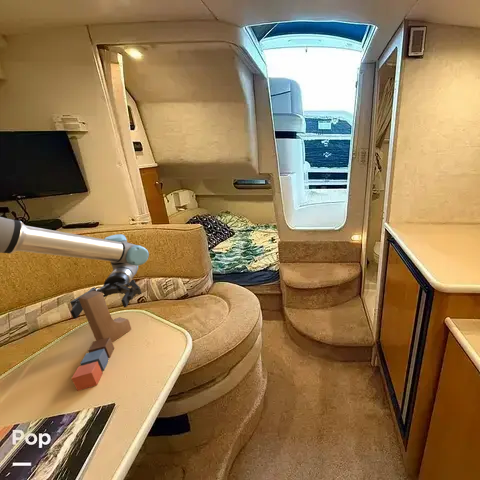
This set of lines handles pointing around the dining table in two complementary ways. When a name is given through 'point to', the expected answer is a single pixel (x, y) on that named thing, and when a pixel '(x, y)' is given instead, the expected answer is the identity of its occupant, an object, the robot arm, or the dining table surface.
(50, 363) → the dining table surface
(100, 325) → the wooden block
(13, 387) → the dining table surface
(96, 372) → the cube row
